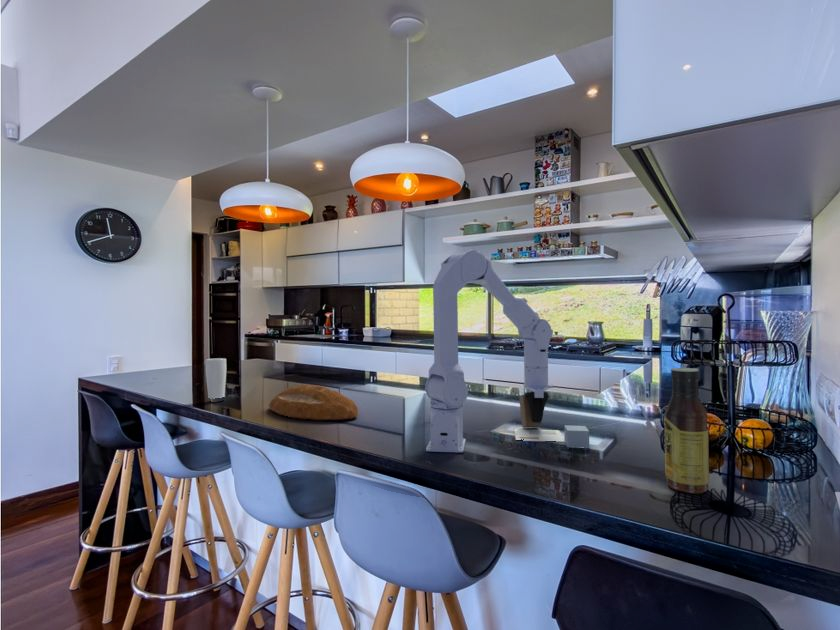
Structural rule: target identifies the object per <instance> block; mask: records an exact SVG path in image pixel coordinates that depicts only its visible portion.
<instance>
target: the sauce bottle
mask: <svg viewBox="0 0 840 630" xmlns="http://www.w3.org/2000/svg"><path fill="white" fill-rule="evenodd" d="M670 372H671V373H670V378H671V379H672V380H671V381H672V386H671V387H672V391H671V397H670V399H669V401H668V405H667V406H666V407H667V408H666V410H665V412H664V419H663V420H664V455H665V456H664V461H665V464H664V465H665V467H664V468H665V469H664V470H665V471H664V472H665V474H664V475H665V476H666V483H667V485H668V486H669V487H670V488H671V489H672V490H676V491H679V492H681V493H688V494H693V495H694V494H695V495H699V494H702V493H705V492H707V491H709V490H708V489H709V481H710V460H709V457H710V456H709V455H710V453H709V450H710V448H709V425H708V411H707V409H706V406H705V405H704V404H703V402H702V401H701V399H700V398H699V396H700V392H699V381H700V378H701V377H700V370H699V369H697V368H692V367H691V368H690V367H673V368H671V369H670Z"/></svg>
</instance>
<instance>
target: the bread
mask: <svg viewBox="0 0 840 630" xmlns="http://www.w3.org/2000/svg"><path fill="white" fill-rule="evenodd" d="M268 407H269V409H270V410H271V411H272V412H274V413H276V414H278V415H280V416H282V415H284V416H283V417H286V416H288V418H290V417H293V418H292V419H295V418H300V419H299V420H306V419H311V420H310V421H342V420H350V419H354V418H356V417H357V416H359V409H358V406H357V404H356V403H355V401H354V400H353V399H352V398H349V397H346V396H344V395H343V394H341V393H340V392H338V391H336V390H333V389H330V388H328V387H327V386H322V385H321V386H320V385H313V384H301V385H295V386H291V387H289V388H286V389H283V390H282V391H280V392H279V393H278V394H276V395H275V396H274V397H273V399H271V400H270V402H269V406H268Z"/></svg>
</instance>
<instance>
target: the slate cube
mask: <svg viewBox="0 0 840 630" xmlns="http://www.w3.org/2000/svg"><path fill="white" fill-rule="evenodd" d="M563 427H564V436H563V438H564V440H565V442H564V444H565V446H566V445H567V446H566V448H567V447H584V448H589V449H590V430H589V429H588V428H587V426H586V425H568V424H567V425H563Z"/></svg>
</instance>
